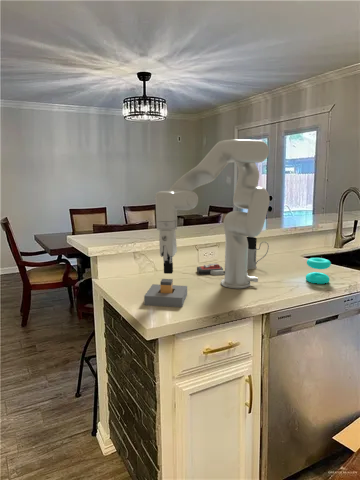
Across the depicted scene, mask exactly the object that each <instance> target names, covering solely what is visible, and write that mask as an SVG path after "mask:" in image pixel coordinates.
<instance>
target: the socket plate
mask: <svg viewBox="0 0 360 480" xmlns="http://www.w3.org/2000/svg"><path fill="white" fill-rule="evenodd" d="M143 297H144V298H143V300H144V302H143V305H144V306H152V307H153V306H155V307H156V306H157V307H170V308H171V307H175V308H183V307H184V304H185V302H186V300H187V297H188V285H174V284H173V293H161V285H160V284H157V283H156V284H154V283H153V284H152V285H151V286H150V287H149V289H148V290H147V291H146V293H145V294H144V295H143Z"/></svg>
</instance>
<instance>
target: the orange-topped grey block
mask: <svg viewBox="0 0 360 480" xmlns="http://www.w3.org/2000/svg"><path fill="white" fill-rule="evenodd" d="M173 281H174V280H173V278H161V280H160V284H159V285H161V293H173V285H174V283H173Z"/></svg>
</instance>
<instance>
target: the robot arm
mask: <svg viewBox="0 0 360 480" xmlns="http://www.w3.org/2000/svg"><path fill="white" fill-rule="evenodd" d="M269 154H270V149H269V145H268V144H267V143H266V142H265V141H264V140H260V139H259V140H258V139H238V138H237V139H236V138H233V139H224V140H219V141H218V142H217V143H215V145H214V146H213V147H212V148H211V149H210V151H209V152H207V154H206V155H205V156H204V158H203V159H202V160H201V161H200V162H199V163H198V164H197V165H196V166H195V167H193V168H192V169H190V170H189V171H187V172H186V173H185V174H182V176H181V177H179V178H178V179H177V180H176V181H175V182H174V183H173V184H172V185H171V187H170V188H169V189H168V190H160V191H157V192H156V193H155V197H154V198H155V215H156V216H155V218H156V220H155V221H156V231H159V234H158V235H159V236H158V238H159V255H160V257H161V258H163V274H172V275H173V272H174V266H173V265H174V263H173V257H175V255H176V253H177V252H178V249H177V235H176V230H177V229H178V216H177V215H178V214H177V211H190V210H193V209H195V207H197V206H198V203H199V196H198V194H197V193H196V192H195V191H194V190H195V189H197V188H199V187H201V186H204V185H207V184H209V183H212V182H213V181H215V180H216V179H217V178H218V177H219V175H220V174H221V172H222V171H223V170H224V169H225V168H226V166H227V165H229V163H235V164H236V166H237V168H238V176H237V180H236V185H235V189H234V194H233V198H232V199H233V200H232V201H233V202H232V203H233V205H234V206H235V207H236V208H238V209H242V210H247V212H246V211H240V210H234V211H230V212H227V214H225V217H224V219H223V230H224V238H225V250H224V253H225V255H224V271H225V274H224V278H223V279H221V281H220V285H221V286H222V287H225V288H228V289H238V290H239V289H246V288H249V287H250V286H251V282H252V283H253V282H254V283H258V282H259V278H258V277H256V276H253V275H252V276H250V275H248V274H249V273H248V269H247V263H248V241H247V237H255V238H256V237H258V236H259V235H260V234H261V232H262V231H263V229H264V226H265V222H266V217H267V214H268V210H269V206H270V195H269V192H268V191H267V189H266V188H264V187H262V186H259V185H258V184H259V180H260V171H259V170H260V169H259V168H258V166H257V163H263V162H264V161H266V160H267V158H268V157H269Z"/></svg>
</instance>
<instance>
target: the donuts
mask: <svg viewBox="0 0 360 480" xmlns="http://www.w3.org/2000/svg"><path fill="white" fill-rule="evenodd" d="M306 265H307V266H308V267H310V268H311V269H315V270H327V269H329V268H330V267H331V265H332V262H331V261H330V260H329V259H326V258H324V257H323V258H322V257H310V258H308V259H307V260H306ZM305 281H306V282H308V283H310V282H311V284H314V283H317V284H316V285H324V284H325V283H326V284H328V283H329V282H330V276H328V274H325V273H324V272H318V271H312V272H309V273H307V274H306V275H305Z"/></svg>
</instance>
